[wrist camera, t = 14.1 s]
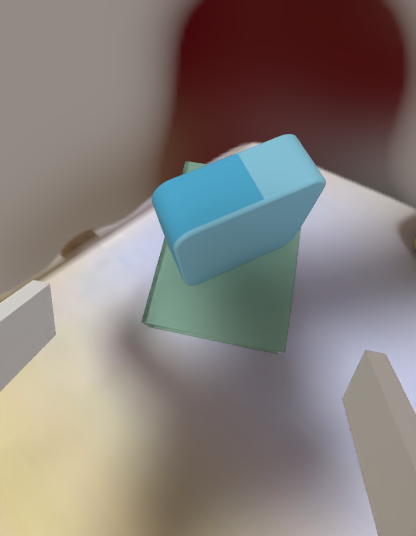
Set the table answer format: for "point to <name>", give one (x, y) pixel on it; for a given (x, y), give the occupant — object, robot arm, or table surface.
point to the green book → (227, 299)
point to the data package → (237, 207)
